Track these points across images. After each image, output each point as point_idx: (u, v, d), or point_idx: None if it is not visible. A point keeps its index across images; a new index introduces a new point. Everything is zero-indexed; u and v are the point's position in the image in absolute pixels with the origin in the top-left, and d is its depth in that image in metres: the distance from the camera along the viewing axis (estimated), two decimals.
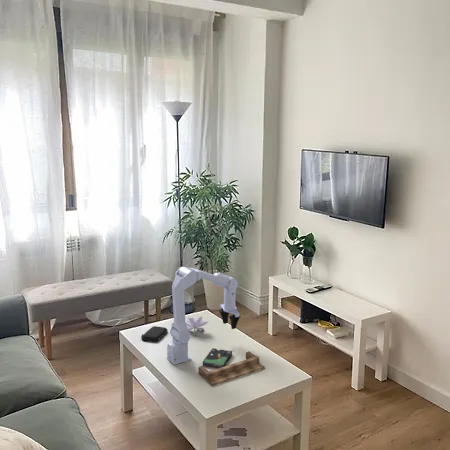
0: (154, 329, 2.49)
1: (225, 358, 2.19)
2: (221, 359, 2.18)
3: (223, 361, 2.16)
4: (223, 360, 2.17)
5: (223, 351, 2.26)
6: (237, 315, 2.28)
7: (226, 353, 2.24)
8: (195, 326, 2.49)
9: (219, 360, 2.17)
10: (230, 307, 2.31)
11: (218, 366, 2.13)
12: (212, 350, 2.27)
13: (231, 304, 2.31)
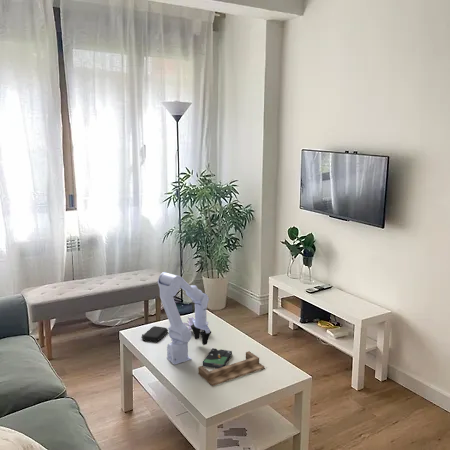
0: (154, 329, 2.49)
1: (225, 358, 2.19)
2: (221, 359, 2.18)
3: (223, 361, 2.16)
4: (223, 360, 2.17)
5: (223, 351, 2.26)
6: (207, 331, 2.26)
7: (226, 353, 2.24)
8: None
9: (219, 360, 2.17)
10: (201, 323, 2.28)
11: (218, 366, 2.13)
12: (212, 350, 2.27)
13: (202, 320, 2.28)
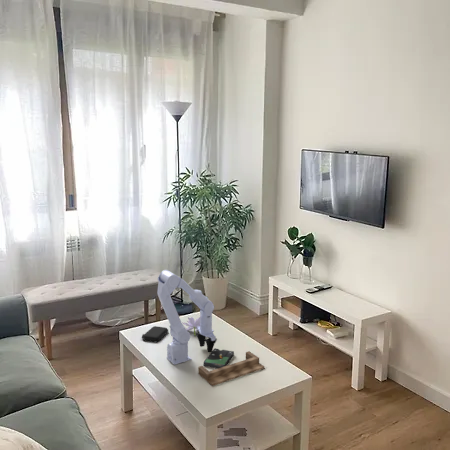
0: (154, 329, 2.49)
1: (226, 358, 2.19)
2: (222, 359, 2.18)
3: (224, 361, 2.16)
4: (224, 360, 2.17)
5: (225, 351, 2.26)
6: (213, 339, 2.22)
7: (228, 353, 2.24)
8: (195, 326, 2.49)
9: (220, 360, 2.17)
10: (206, 330, 2.25)
11: (219, 366, 2.13)
12: (214, 350, 2.27)
13: (207, 327, 2.24)
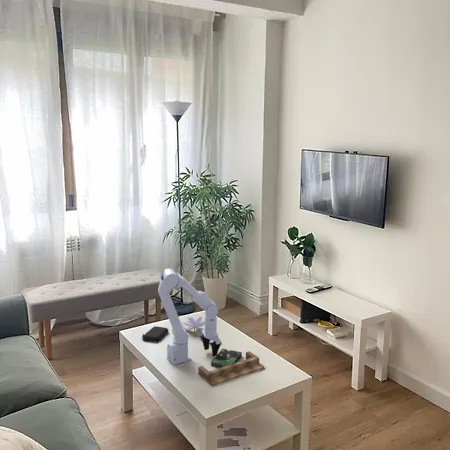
0: (155, 329, 2.49)
1: (234, 359, 2.18)
2: (229, 360, 2.17)
3: (232, 362, 2.15)
4: (232, 361, 2.16)
5: (233, 352, 2.25)
6: (218, 342, 2.18)
7: (236, 354, 2.23)
8: (195, 326, 2.49)
9: (228, 360, 2.17)
10: (211, 333, 2.21)
11: None
12: (222, 350, 2.26)
13: (212, 330, 2.21)
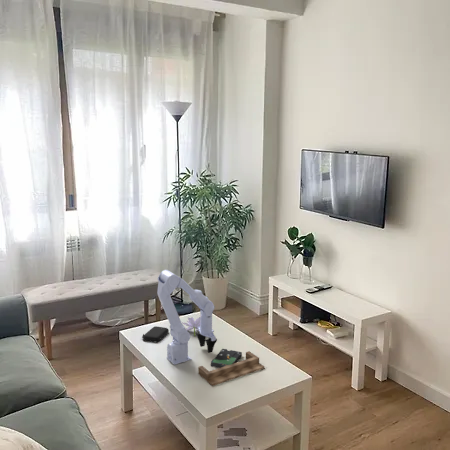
0: (155, 329, 2.49)
1: (234, 359, 2.18)
2: (229, 360, 2.17)
3: (231, 362, 2.15)
4: (232, 361, 2.16)
5: (233, 352, 2.25)
6: (213, 339, 2.22)
7: (236, 354, 2.23)
8: (195, 326, 2.49)
9: (228, 360, 2.17)
10: (206, 330, 2.24)
11: None
12: (222, 350, 2.26)
13: (207, 327, 2.24)
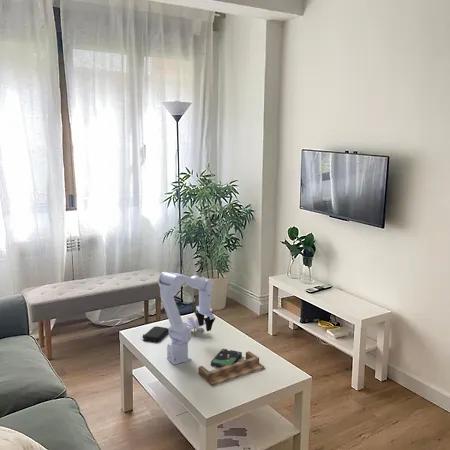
0: (155, 329, 2.49)
1: (234, 359, 2.18)
2: (229, 360, 2.17)
3: (231, 362, 2.15)
4: (231, 361, 2.16)
5: (233, 352, 2.25)
6: (211, 317, 2.27)
7: (236, 354, 2.23)
8: (195, 326, 2.49)
9: (228, 360, 2.17)
10: (205, 309, 2.30)
11: None
12: (222, 350, 2.26)
13: (206, 306, 2.30)
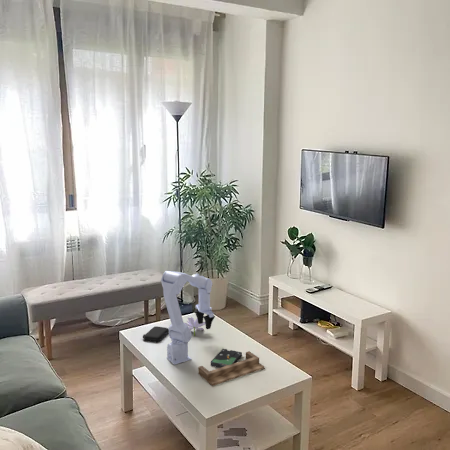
0: (155, 329, 2.49)
1: (234, 359, 2.18)
2: (229, 360, 2.17)
3: (231, 362, 2.15)
4: (231, 361, 2.16)
5: (233, 352, 2.25)
6: (211, 315, 2.29)
7: (236, 354, 2.23)
8: (195, 326, 2.49)
9: (228, 360, 2.17)
10: (204, 307, 2.32)
11: None
12: (222, 350, 2.26)
13: (205, 304, 2.32)
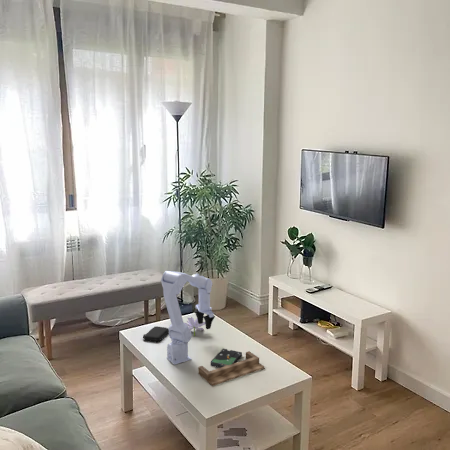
0: (155, 329, 2.49)
1: (234, 359, 2.18)
2: (229, 360, 2.17)
3: (231, 362, 2.15)
4: (231, 361, 2.16)
5: (233, 352, 2.25)
6: (211, 315, 2.29)
7: (236, 354, 2.23)
8: (194, 326, 2.49)
9: (228, 360, 2.17)
10: (204, 307, 2.32)
11: None
12: (222, 350, 2.26)
13: (205, 304, 2.32)
